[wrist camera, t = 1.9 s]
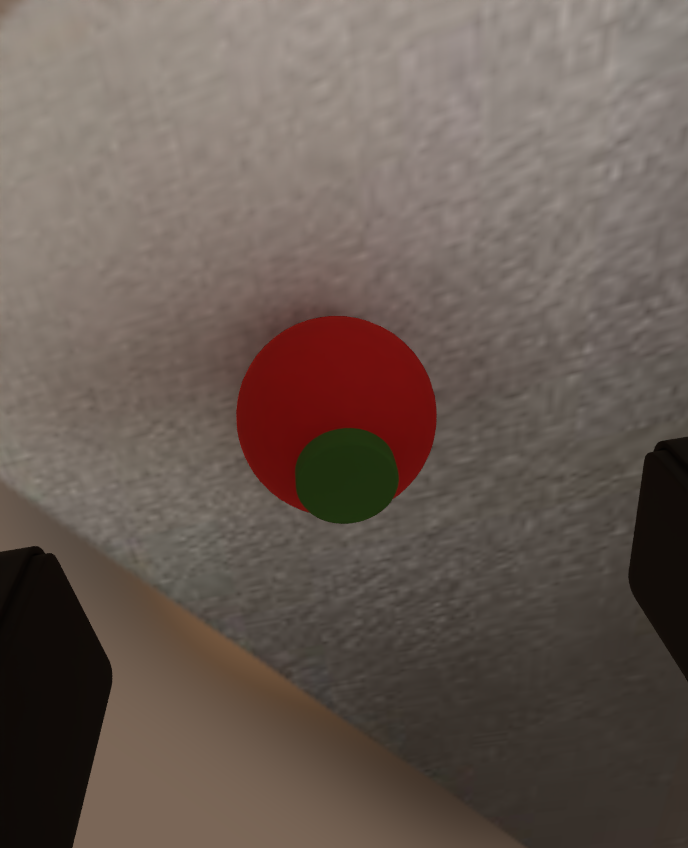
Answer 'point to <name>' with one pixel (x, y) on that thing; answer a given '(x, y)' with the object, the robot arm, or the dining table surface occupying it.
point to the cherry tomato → (336, 417)
